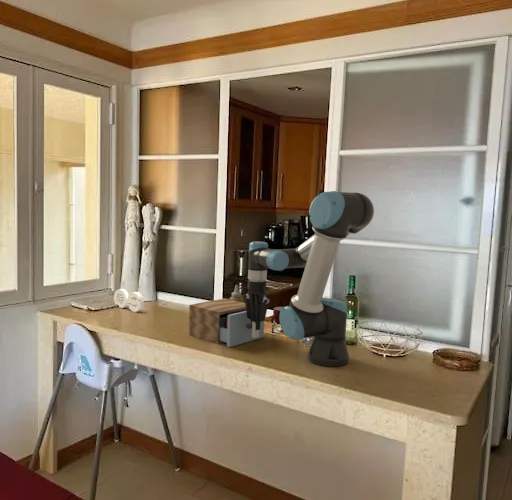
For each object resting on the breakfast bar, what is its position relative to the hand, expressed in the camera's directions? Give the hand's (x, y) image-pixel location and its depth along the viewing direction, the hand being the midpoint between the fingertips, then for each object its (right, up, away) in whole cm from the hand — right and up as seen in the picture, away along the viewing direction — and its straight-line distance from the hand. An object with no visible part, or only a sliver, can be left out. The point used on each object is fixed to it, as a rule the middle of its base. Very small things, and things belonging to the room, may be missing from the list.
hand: (255, 336), depth 195 cm
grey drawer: (-10, -2, +9) cm, 13 cm away
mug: (+11, -1, +22) cm, 25 cm away
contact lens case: (-67, +4, +55) cm, 86 cm away
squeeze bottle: (-9, 0, +35) cm, 36 cm away
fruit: (-9, 0, +8) cm, 12 cm away
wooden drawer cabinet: (-15, -1, +13) cm, 20 cm away
